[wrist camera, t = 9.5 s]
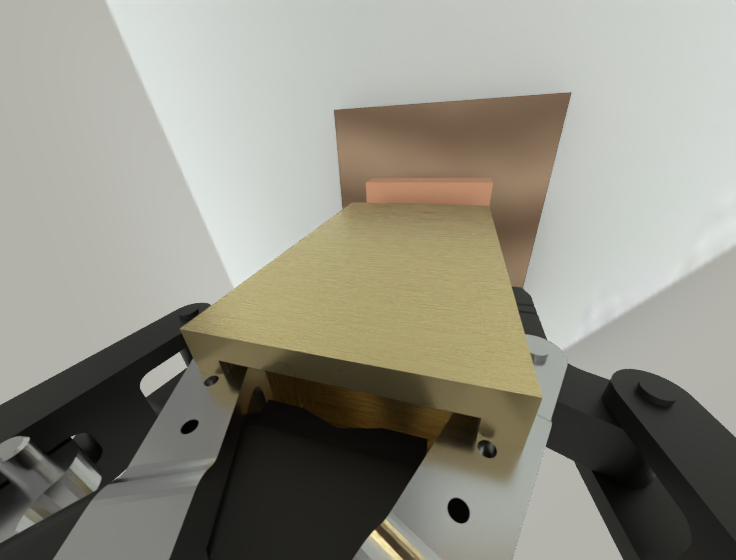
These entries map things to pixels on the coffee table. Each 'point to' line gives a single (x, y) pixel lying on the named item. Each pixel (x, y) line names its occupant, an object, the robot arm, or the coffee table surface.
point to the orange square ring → (430, 191)
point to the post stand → (462, 156)
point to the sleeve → (384, 324)
